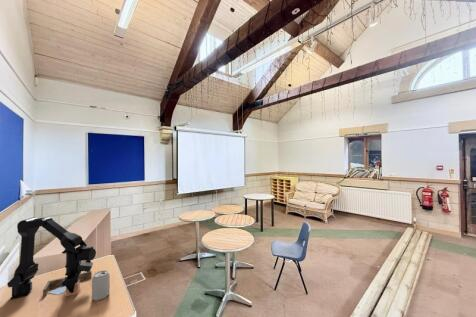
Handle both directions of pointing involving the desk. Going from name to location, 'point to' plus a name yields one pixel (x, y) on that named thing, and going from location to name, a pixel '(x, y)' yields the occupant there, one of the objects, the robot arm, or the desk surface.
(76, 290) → the cube
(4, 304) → the desk surface
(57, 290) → the pad
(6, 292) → the desk surface
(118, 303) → the desk surface
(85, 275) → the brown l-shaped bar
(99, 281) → the can
